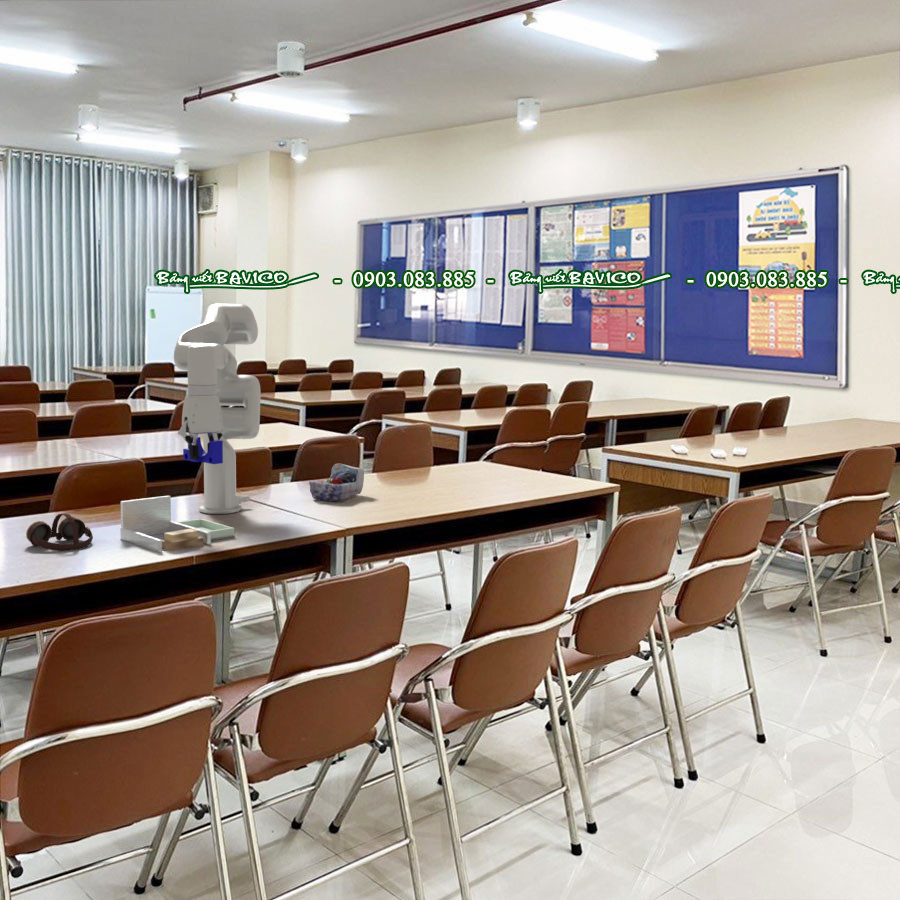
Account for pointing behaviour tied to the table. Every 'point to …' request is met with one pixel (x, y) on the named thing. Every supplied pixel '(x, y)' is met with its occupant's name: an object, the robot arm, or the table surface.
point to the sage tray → (211, 528)
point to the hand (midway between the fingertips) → (203, 457)
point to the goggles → (59, 533)
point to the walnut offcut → (182, 544)
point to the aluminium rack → (151, 522)
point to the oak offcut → (180, 535)
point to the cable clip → (211, 456)
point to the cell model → (338, 484)
